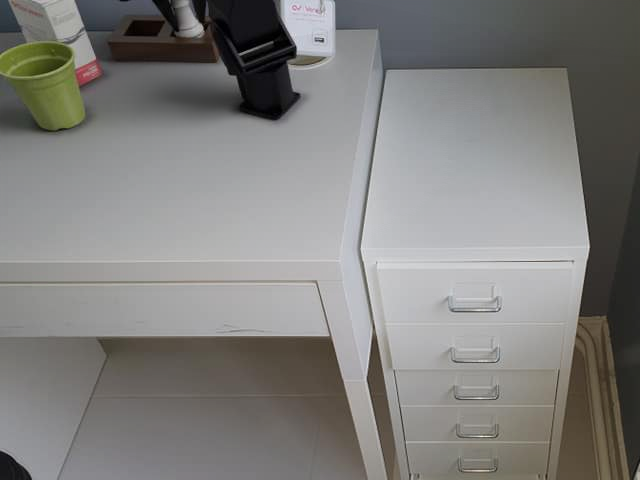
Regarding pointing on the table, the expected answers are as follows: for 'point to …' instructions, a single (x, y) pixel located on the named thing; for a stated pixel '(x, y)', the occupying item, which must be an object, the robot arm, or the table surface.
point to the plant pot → (45, 82)
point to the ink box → (58, 31)
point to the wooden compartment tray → (159, 41)
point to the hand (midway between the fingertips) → (189, 26)
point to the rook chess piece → (186, 20)
